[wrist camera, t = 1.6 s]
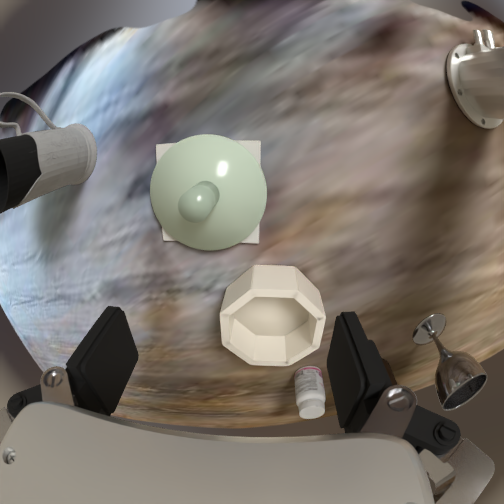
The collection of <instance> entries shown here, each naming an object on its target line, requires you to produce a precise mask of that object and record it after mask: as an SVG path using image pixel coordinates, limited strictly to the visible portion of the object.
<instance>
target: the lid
mask: <svg viewBox="0 0 504 504" xmlns="http://www.w3.org/2000/svg"><path fill="white" fill-rule="evenodd" d="M150 197H151V203H152V207H153V210H154V213H155V215H156V217H157V219H158V221H159V222H160V224H161V225H162V227H163V228H164V229H165V230H166V231H167V232H168V233H169V234H170V235H171V236H172V237H173V238H174V239H176V240H177V241H179V242H181V243H183V244H185V245H187V246H189V247H192V248H195V249H200V250H220V249H225V248H229V247H231V246H234V245H236V244H238V243H239V242H241V241H243V240H244V239H245V238H247V237H248V236H249V235H250V234H251V233H252V232H253V231H254V229H255V228H256V227H257V225H258V224H259V222H260V220H261V218H262V216H263V213H264V210H265V206H266V199H267V186H266V180H265V177H264V174H263V171H262V169H261V167H260V165H259V163H258V161H257V160H256V158H255V157H254V156H253V155H252V154H251V153H250V151H248V150H247V149H246V148H245V147H244V146H242V145H241V144H239V143H238V142H236V141H234V140H232V139H230V138H227V137H223V136H219V135H209V134H204V135H196V136H192V137H188V138H186V139H183V140H181V141H179V142H178V143H176V144H174V145H173V146H172V147H170V148H169V149H168V150H167V151H166V152H165V153H164V154H163V156H162V157H161V158H160V160H159V161H158V163H157V165H156V167H155V169H154V172H153V175H152V179H151V185H150Z"/></svg>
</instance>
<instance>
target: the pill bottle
mask: <svg viewBox="0 0 504 504" xmlns="http://www.w3.org/2000/svg"><path fill="white" fill-rule="evenodd" d="M294 379H295V393H296V404H297V406H298V407H299V415H300V416H301V417H302V418H305V419H314V418H318V417H320V416H322V415H323V414H324V413H325V405H324V403H325V400H326V397H325V390H324V384H323V378H322V372H321V370H320V369H319V368H318V367H315V366H305V367H302V368H300V369H298V370H297V371H296V373H295V375H294Z"/></svg>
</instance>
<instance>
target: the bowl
mask: <svg viewBox="0 0 504 504" xmlns="http://www.w3.org/2000/svg"><path fill="white" fill-rule="evenodd" d="M325 319H326V316H325V312H324V308H323V304H322V300H321V296H320V293H319V290H318V289H317V288H316V287H315V286H314V285H313V284H312V283H311V282H310V281H309V280H308V279H307V278H306V277H305V276H304V275H303V274H302V273H301V272H300V271H299V270H298V269H297V268H296V267H294V266H283V265H275V264H272V265H255V266H254V265H253V266H252V267H251V268H250V269H249V270H247V271H246V272H245V273H243V274H242V275H241V276H240V277H239V278H238V279H237V280H235V281H234V282H233V283H232V284H231V285H229V286H228V287H227V288H226V292H225V296H224V300H223V303H222V307H221V311H220V324H221V337H222V344H223V346H225V347H226V348H227V349H229V350H230V351H231V352H233V353H234V354H236V355H237V356H238V357H240V358H241V359H243V360H244V361H246V362H247V363H248V364H251V365H263V366H290V365H291V364H293V363H295V362H297V361H298V360H300V359H302V358H303V357H305V356H307V355H308V354H310V353H312V352H313V351H315V350H316V349H318V348H319V347H320V342H321V338H322V333H323V329H324V324H325Z"/></svg>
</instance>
